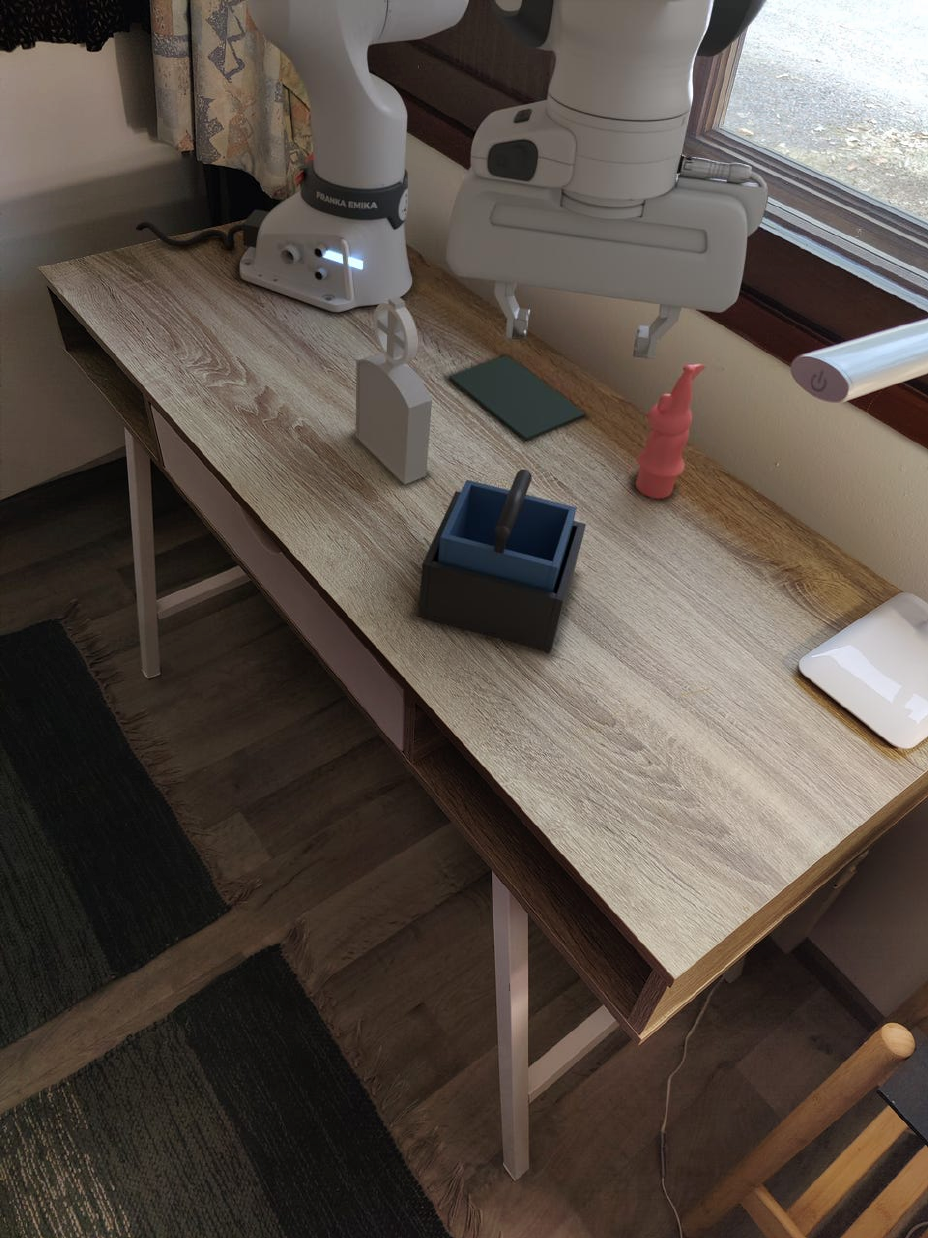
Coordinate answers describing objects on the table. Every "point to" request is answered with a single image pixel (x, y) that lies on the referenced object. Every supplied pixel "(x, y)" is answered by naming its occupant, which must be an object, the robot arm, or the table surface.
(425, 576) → the charcoal bin
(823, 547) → the table surface
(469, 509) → the blue bin
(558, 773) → the table surface
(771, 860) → the table surface
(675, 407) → the figurine
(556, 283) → the robot arm
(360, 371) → the gravestone
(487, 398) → the mat
